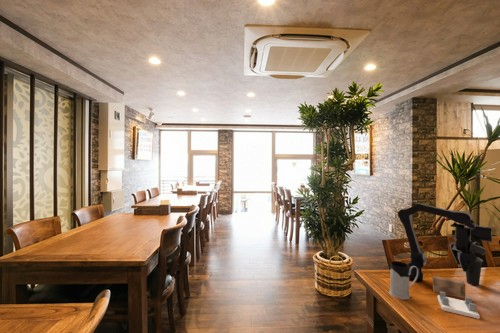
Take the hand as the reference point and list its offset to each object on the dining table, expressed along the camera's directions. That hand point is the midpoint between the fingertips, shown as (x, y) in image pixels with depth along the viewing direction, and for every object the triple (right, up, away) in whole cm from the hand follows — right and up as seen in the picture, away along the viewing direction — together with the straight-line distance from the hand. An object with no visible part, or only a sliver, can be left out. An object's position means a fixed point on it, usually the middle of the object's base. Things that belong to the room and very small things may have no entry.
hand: (461, 267), depth 118 cm
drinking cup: (+15, -13, +10) cm, 22 cm away
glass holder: (-30, -13, -2) cm, 32 cm away
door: (-7, -13, -1) cm, 15 cm away
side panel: (-14, -12, -13) cm, 22 cm away
